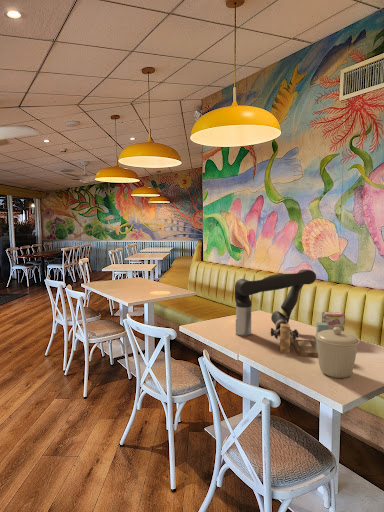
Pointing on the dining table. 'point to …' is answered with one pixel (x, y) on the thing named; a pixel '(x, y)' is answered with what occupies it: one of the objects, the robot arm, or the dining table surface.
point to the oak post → (285, 338)
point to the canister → (336, 352)
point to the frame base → (309, 343)
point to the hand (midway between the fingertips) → (285, 337)
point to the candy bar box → (334, 320)
